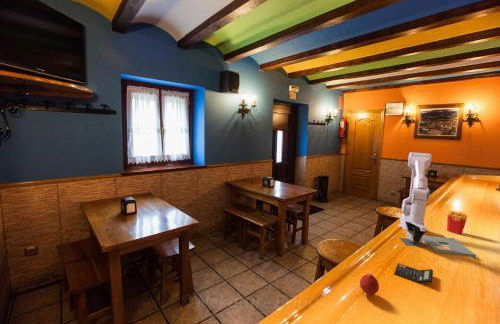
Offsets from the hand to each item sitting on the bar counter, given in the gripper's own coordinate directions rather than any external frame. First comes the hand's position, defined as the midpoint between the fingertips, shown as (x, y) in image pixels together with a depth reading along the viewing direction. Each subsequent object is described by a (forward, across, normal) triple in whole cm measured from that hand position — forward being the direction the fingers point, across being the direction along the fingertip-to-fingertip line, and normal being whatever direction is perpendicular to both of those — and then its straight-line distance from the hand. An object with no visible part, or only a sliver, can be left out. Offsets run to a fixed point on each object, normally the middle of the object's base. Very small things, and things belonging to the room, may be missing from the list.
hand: (413, 238), depth 119 cm
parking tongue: (+3, 0, 0) cm, 3 cm away
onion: (+3, +44, -33) cm, 55 cm away
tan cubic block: (+2, 0, 0) cm, 2 cm away
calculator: (+3, +28, -12) cm, 31 cm away
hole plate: (+3, 0, +14) cm, 14 cm away
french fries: (+3, -22, +31) cm, 38 cm away
